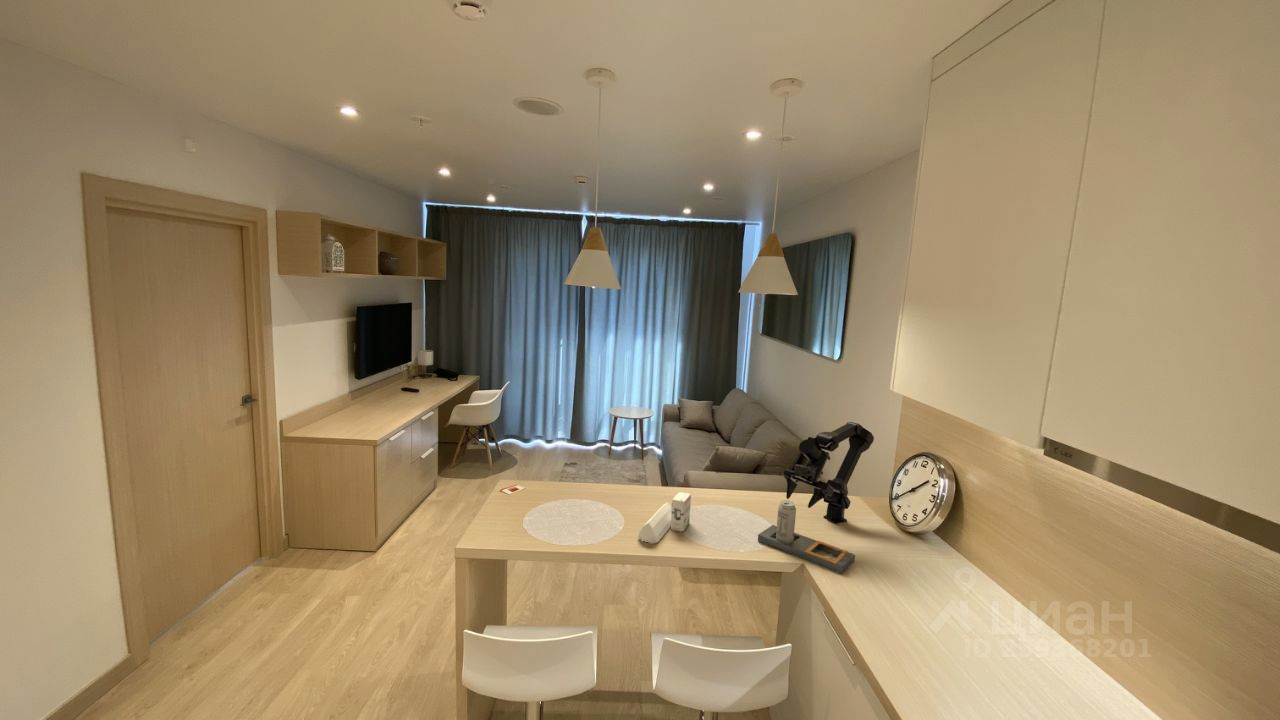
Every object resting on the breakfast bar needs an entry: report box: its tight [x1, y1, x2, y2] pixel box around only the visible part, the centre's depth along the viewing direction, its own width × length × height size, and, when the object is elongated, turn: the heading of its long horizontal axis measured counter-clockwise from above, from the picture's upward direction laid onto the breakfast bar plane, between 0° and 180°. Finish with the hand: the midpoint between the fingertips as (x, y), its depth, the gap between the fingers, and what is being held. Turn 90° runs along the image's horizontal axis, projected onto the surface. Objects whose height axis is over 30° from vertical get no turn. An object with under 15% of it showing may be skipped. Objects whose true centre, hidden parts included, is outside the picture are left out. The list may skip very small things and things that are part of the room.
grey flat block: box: [757, 524, 856, 575], centre depth 176 cm, size 30×11×3 cm, turn 48°
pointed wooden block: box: [637, 502, 672, 544], centre depth 188 cm, size 7×7×24 cm
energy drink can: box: [775, 500, 797, 545], centre depth 180 cm, size 6×6×15 cm
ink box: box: [670, 491, 692, 532], centre depth 191 cm, size 9×5×12 cm, turn 157°
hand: (797, 502), depth 185 cm, fingers open, 9 cm apart
